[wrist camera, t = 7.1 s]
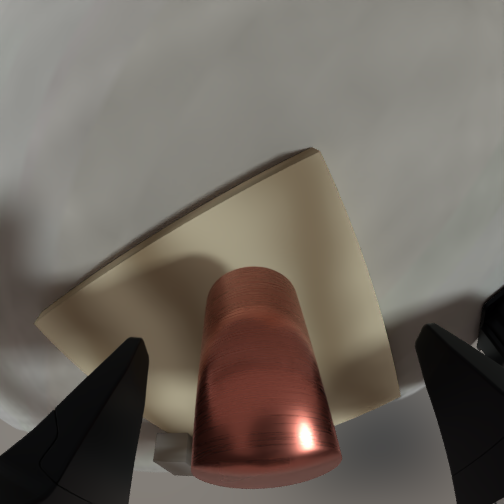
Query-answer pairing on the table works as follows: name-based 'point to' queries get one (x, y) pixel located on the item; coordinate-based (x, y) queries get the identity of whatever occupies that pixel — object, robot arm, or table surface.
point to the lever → (259, 388)
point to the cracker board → (215, 266)
